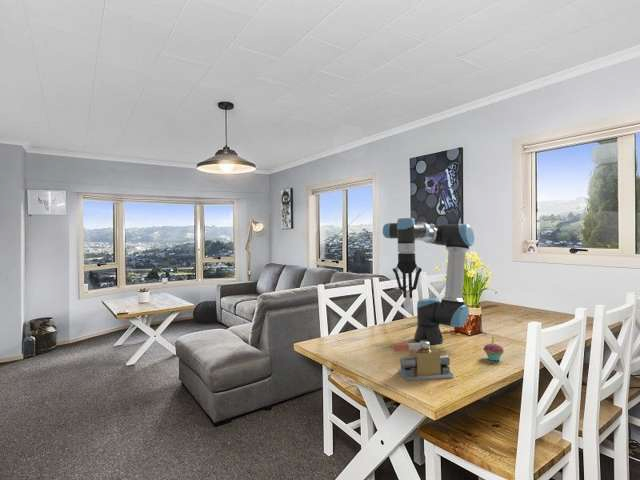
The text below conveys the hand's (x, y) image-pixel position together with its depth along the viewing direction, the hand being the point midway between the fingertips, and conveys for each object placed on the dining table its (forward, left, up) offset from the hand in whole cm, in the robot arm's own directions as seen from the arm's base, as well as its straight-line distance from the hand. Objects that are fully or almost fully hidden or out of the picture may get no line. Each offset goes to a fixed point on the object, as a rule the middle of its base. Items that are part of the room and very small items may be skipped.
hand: (407, 305), depth 162 cm
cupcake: (-42, -1, -28) cm, 50 cm away
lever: (+3, +11, -17) cm, 20 cm away
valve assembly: (-3, +11, -27) cm, 30 cm away
